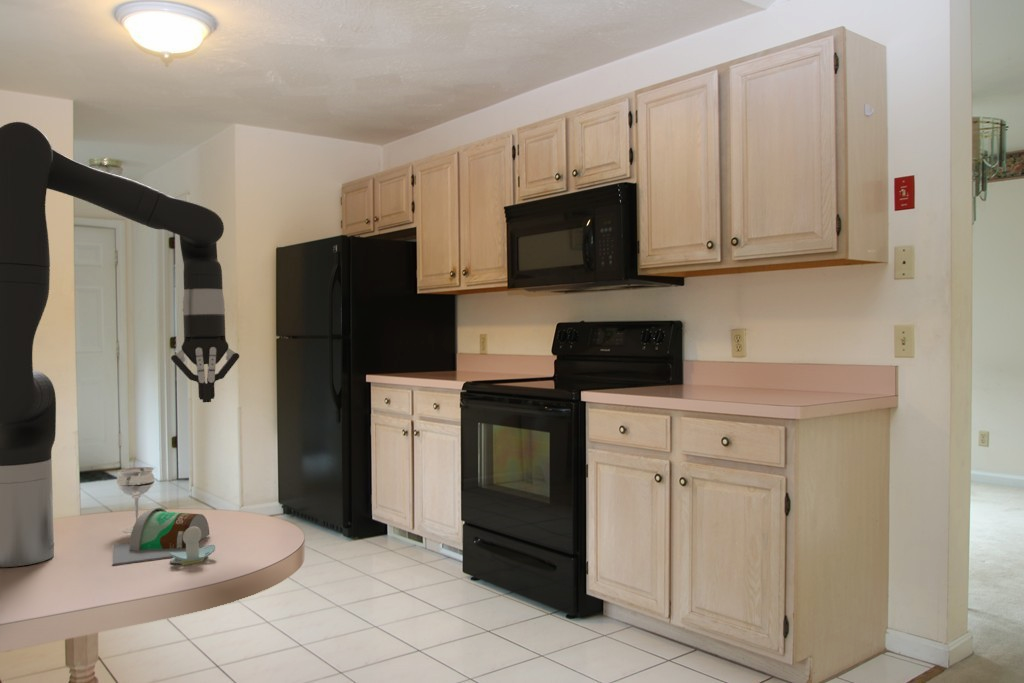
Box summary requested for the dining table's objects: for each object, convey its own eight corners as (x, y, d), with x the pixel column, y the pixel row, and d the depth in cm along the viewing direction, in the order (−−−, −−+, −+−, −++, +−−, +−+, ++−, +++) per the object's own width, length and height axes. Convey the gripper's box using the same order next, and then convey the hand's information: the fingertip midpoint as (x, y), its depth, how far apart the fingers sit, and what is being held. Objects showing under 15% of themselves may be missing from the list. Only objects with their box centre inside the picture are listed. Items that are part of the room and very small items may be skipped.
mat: (112, 565, 131) (112, 563, 131) (113, 546, 143) (113, 544, 143) (201, 553, 137) (201, 551, 137) (195, 535, 149) (195, 534, 149)
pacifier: (163, 563, 132) (174, 569, 128) (162, 526, 132) (172, 531, 128) (207, 554, 137) (219, 560, 132) (205, 519, 137) (217, 523, 133)
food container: (181, 515, 138) (126, 516, 139) (182, 550, 138) (127, 550, 139) (212, 501, 150) (162, 501, 151) (212, 532, 150) (162, 533, 151)
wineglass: (115, 529, 156) (113, 469, 156) (151, 523, 160) (150, 465, 160) (121, 535, 151) (120, 474, 151) (159, 529, 155) (157, 470, 155)
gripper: (167, 313, 145) (170, 405, 145) (241, 312, 150) (244, 401, 150) (166, 314, 152) (169, 402, 152) (238, 313, 157) (240, 398, 157)
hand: (207, 401), depth 151 cm, fingers closed
